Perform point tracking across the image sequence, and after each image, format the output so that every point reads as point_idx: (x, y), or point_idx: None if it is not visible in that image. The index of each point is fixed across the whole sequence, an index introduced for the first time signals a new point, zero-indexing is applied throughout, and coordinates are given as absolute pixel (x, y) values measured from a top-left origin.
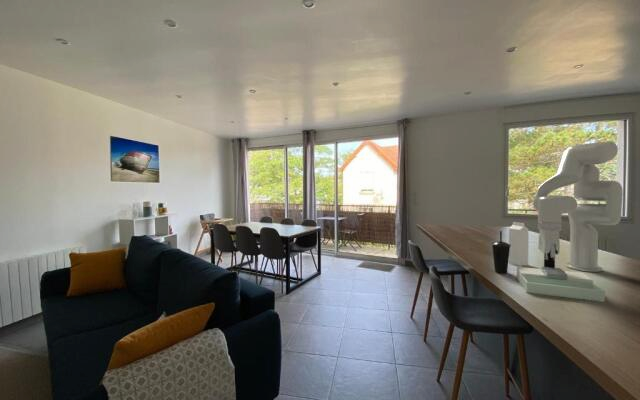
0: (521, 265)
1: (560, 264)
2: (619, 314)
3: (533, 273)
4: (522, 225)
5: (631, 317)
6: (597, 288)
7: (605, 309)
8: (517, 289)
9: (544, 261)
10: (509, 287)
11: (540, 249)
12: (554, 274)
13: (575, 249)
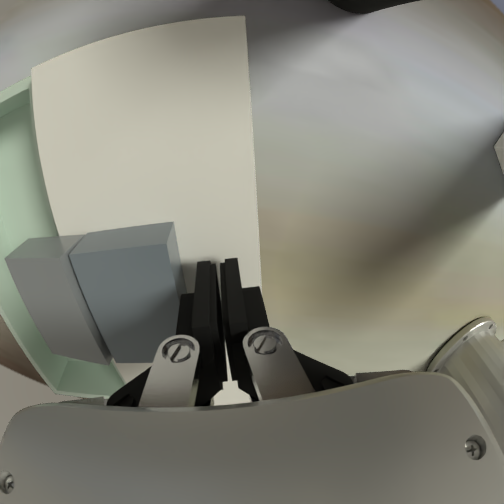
0: (498, 155)
1: (498, 302)
2: (4, 353)
3: (58, 154)
4: None
5: (8, 366)
6: (86, 388)
7: (9, 340)
8: (2, 76)
9: (229, 303)
10: (16, 38)
11: (264, 433)
12: (23, 295)
13: (497, 392)
